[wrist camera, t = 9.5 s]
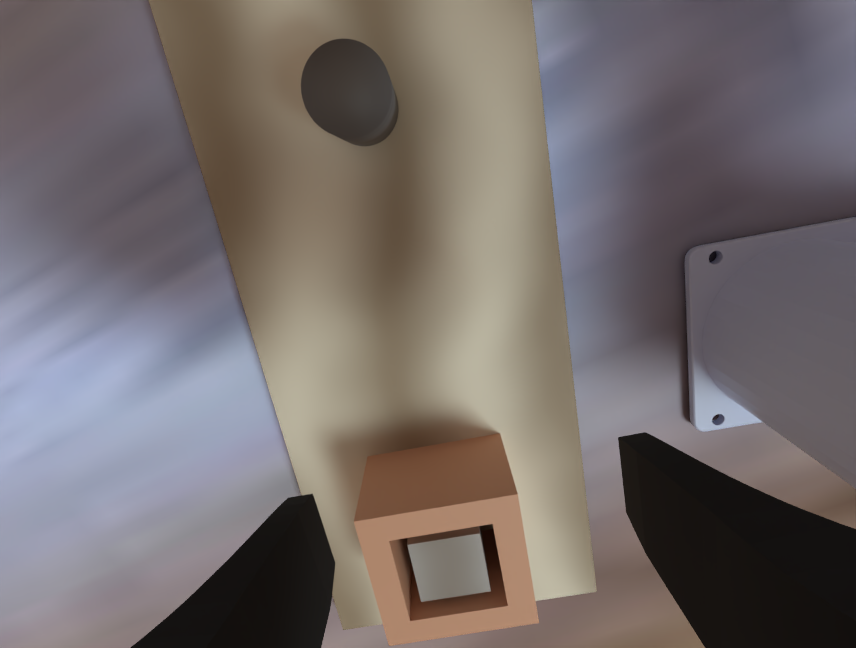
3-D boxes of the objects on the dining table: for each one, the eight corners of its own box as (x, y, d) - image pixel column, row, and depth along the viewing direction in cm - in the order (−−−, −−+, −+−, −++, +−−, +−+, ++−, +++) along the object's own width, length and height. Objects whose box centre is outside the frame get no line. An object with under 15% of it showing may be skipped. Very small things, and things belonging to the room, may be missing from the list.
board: (508, -125, 15) (544, -254, 11) (588, 571, 23) (627, 667, 19) (151, -43, 16) (40, -133, 11) (347, 608, 24) (328, 710, 19)
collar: (500, 433, 20) (517, 494, 16) (518, 543, 21) (539, 622, 18) (367, 456, 20) (353, 521, 16) (395, 563, 22) (389, 646, 18)
